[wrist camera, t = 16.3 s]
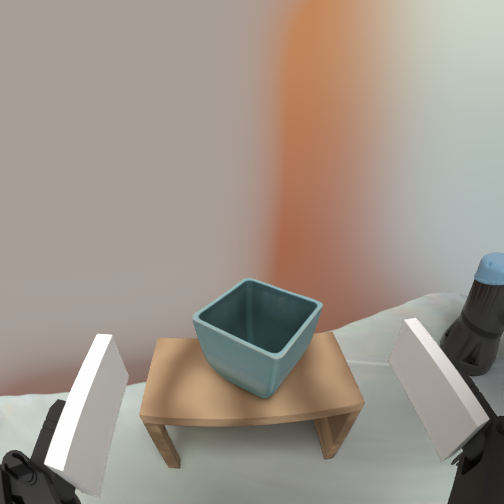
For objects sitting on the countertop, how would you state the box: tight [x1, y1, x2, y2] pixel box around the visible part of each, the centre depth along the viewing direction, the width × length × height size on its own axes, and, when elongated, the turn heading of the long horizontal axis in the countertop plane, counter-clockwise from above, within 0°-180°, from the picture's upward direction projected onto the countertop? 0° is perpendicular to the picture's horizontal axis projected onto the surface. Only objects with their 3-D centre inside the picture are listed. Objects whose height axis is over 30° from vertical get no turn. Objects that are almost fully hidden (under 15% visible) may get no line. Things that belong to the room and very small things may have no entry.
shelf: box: [139, 332, 365, 468], centre depth 31 cm, size 22×12×14 cm, turn 95°
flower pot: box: [192, 278, 323, 399], centre depth 26 cm, size 9×9×9 cm
